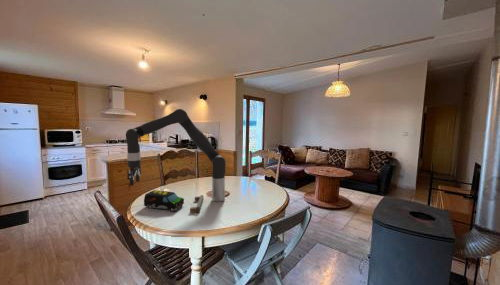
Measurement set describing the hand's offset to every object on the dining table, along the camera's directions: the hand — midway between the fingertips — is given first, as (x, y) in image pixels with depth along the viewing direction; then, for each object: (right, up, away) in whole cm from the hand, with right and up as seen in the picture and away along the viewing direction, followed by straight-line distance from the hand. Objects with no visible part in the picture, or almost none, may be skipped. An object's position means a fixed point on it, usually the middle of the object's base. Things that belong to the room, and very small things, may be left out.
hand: (134, 183), depth 134 cm
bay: (+39, -17, +6) cm, 43 cm away
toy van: (+18, -17, +4) cm, 25 cm away
